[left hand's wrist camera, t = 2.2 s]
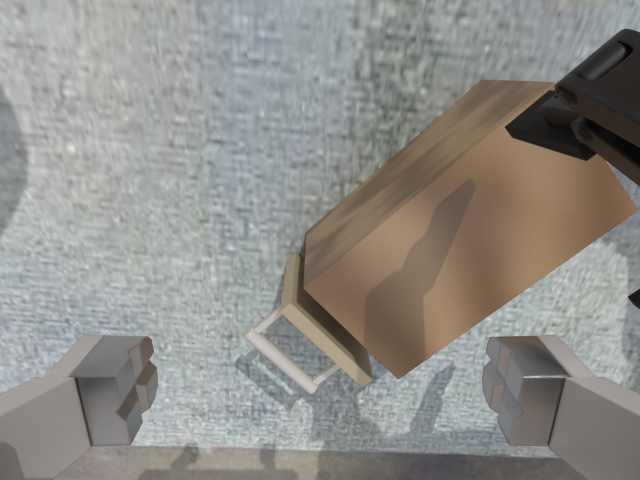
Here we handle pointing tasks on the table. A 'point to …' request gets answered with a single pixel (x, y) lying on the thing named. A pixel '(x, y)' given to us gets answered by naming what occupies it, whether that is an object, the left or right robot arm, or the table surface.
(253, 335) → the drawer
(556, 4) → the table surface
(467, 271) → the cabinet
